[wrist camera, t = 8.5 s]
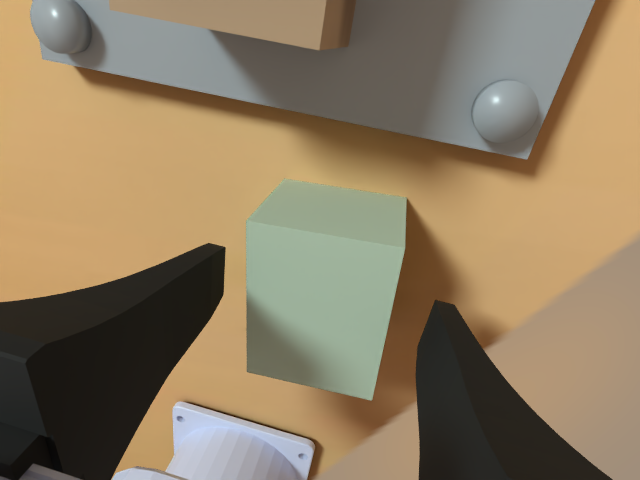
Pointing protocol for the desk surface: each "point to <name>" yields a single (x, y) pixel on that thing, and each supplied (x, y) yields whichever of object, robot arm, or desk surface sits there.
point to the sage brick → (322, 284)
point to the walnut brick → (257, 18)
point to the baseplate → (353, 63)
